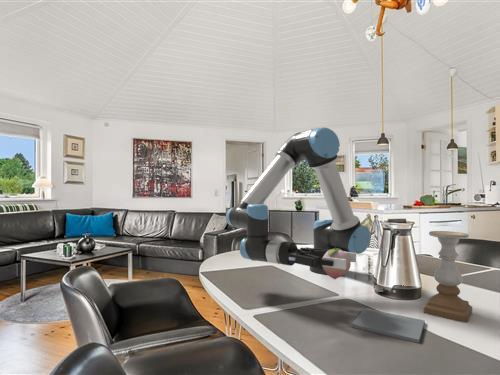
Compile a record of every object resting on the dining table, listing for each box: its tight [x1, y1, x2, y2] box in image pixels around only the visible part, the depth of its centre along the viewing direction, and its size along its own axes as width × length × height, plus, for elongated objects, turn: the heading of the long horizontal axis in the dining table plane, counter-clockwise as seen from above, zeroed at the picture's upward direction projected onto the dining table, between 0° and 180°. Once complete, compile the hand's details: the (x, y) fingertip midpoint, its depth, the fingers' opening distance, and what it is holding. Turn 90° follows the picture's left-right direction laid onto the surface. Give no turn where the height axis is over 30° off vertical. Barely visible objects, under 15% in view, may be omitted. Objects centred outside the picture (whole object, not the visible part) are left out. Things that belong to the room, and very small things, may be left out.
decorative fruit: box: [322, 246, 352, 280], centre depth 97 cm, size 9×8×10 cm
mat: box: [351, 308, 426, 344], centre depth 88 cm, size 16×14×1 cm
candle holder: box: [423, 230, 473, 324], centre depth 97 cm, size 11×11×24 cm
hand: (351, 260), depth 94 cm, fingers closed on decorative fruit, 9 cm apart
